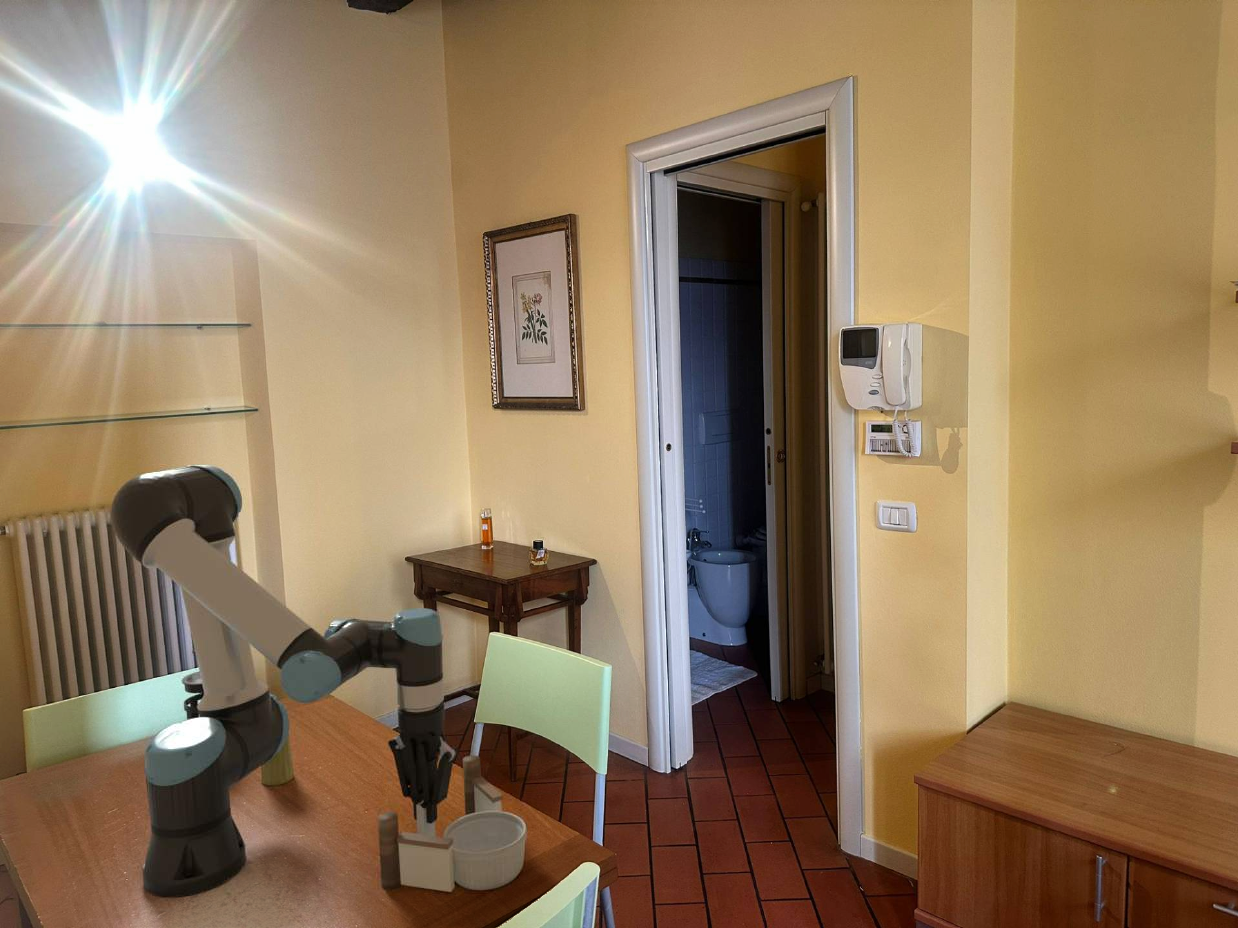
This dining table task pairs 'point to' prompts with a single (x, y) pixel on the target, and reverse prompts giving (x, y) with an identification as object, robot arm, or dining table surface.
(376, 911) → the dining table surface
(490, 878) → the ramekin
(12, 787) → the dining table surface
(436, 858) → the left leaf
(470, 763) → the gate posts
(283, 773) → the vase
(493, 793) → the right leaf
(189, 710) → the french press
